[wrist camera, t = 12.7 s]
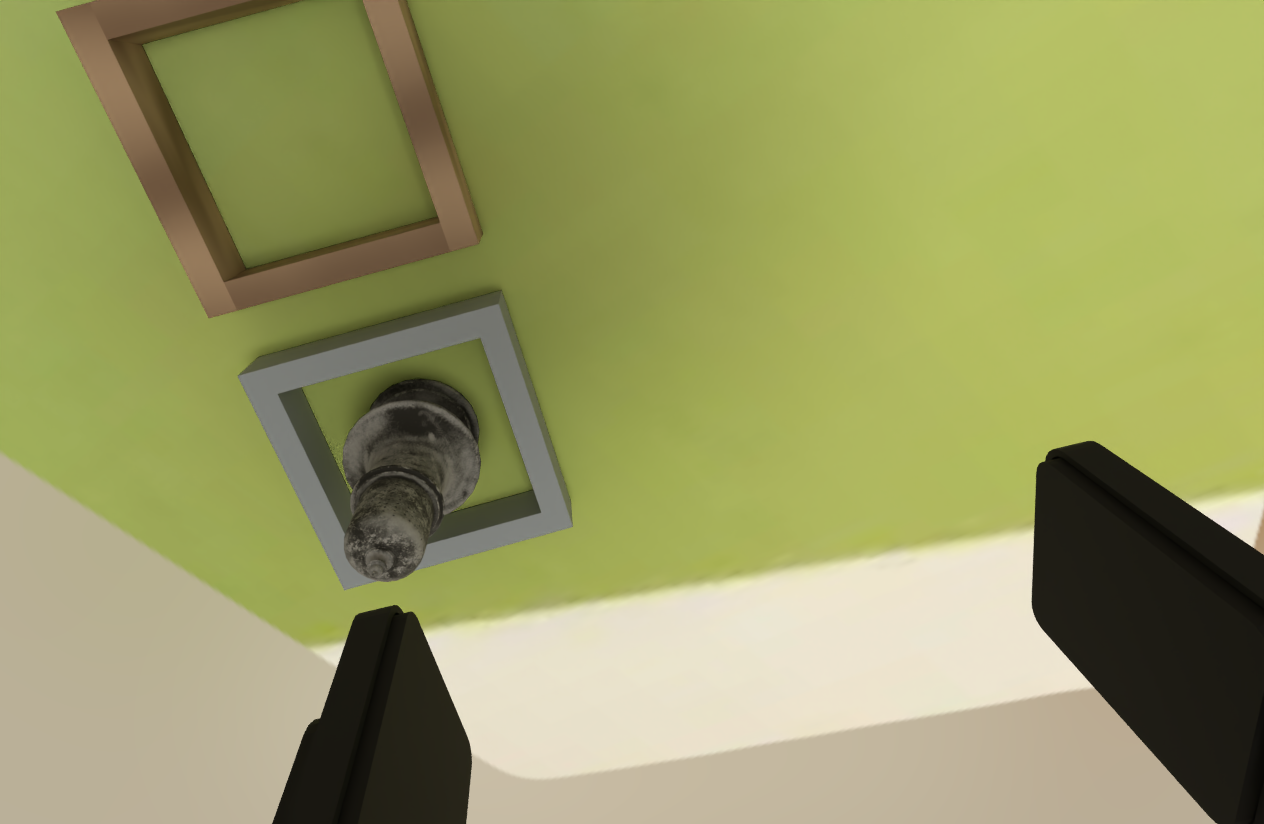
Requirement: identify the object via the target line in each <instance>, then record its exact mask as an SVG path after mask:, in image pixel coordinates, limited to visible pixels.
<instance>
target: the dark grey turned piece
mask: <svg viewBox="0 0 1264 824" xmlns="http://www.w3.org/2000/svg"><path fill="white" fill-rule="evenodd" d="M478 438H479V425H478V420H477V416H476V414H475V412H474V410H473V408H472V406H471V404H470V403H469V402H468V401H467V400H466V399H465V398H464V396H463V395H462V394H460V393H459V392H458V391H456V390H455V389H453V388H452V387H450V386H448V385H446V384H443V383H440V382H438V381H434V380H426V379H414V380H405V381H403V382H400V383H397V384H395V385H392V386H391V387H389V388H388V389H386V390H385V391H384V392H382V393H381V394H380V395H379V396H378V398H377V399H376V400H375V402H374V403H373V404H372V406H371V408H370V411H369V412H368V413H367V414H365V415H364V416H362V417H361V418H360V419H359V420H358V421H357V422H356V424H355V425H354V426H353V428H352V429H351V430H350V432H349V434H348V436H347V439H346V442H345V445H344V447H343V468H344V471H345V475H346V479H347V481H348V483H349V484H350V486H351V488H352V489H353V491H352V494H351V498H350V509H351V512H352V519H351V521H350V523H349V526H348V528H347V531H346V533H345V536H344V552H345V555H346V559H347V560H348V562H349V563H350V565H351V566H352V567H353V568H354V569H355V570H356V571H357V572H358V573H359V574H361V575H363V576H365V577H366V578H369V579H372V580H375V581H383V582H389V581H396V580H399V579H402V578H405V577H407V576H408V575H409V574H411V573H412V572H413V571H414V570H415V569H416V568H417V567H418V565H419V564H420V562H421V561H422V558H423V556H424V553H425V549H426V545H427V541H428V538H429V537H430V536H432V535H433V534H434V533H435V532H436V530H437V529H438V528H439V527H440V524H441V522H442V520H443V517H444V515H446V514H449V513H451V512H452V511H453V510H455V509H456V508H458V507H459V506H461V505H462V504H463V503H464V502H465V501H466V500H467V498H468V497H469V496H470V495H471V494H472V492H473V490H474V488H475V486H476V483H477V481H478V479H479V473H480V465H481V459H480V454H479V448H478Z"/></svg>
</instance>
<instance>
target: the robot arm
mask: <svg viewBox="0 0 1264 824" xmlns="http://www.w3.org/2000/svg"><path fill="white" fill-rule="evenodd" d="M1032 609H1033V613H1034V615H1035V618H1036V620H1037V622H1038V624H1039V625H1040V627H1041V628H1042V629H1043V631H1044V632H1045V633H1046V634H1047V635H1048V636H1049V637H1050V638H1051V639H1052V641H1053V642H1054V643H1055V644H1056V645H1057V646H1058V647H1059V648H1060V650H1061V651H1062V652H1063V653H1064V654H1065V655H1066V656H1067V657H1068V659H1069V660H1070V661H1071V662H1072V663H1073V664H1074V665H1075V666H1076V668H1077V669H1078V670H1079V671H1080V672H1081V673H1082V674H1083V675H1084V677H1085V678H1086V679H1087V680H1088V681H1089V682H1090V683H1091V684H1092V685H1093V687H1094V688H1095V689H1096V690H1097V691H1098V692H1099V693H1100V694H1101V695H1102V697H1103V698H1104V699H1105V700H1106V701H1107V702H1108V703H1109V705H1110V706H1111V707H1112V708H1113V709H1114V710H1115V711H1116V712H1117V714H1118V715H1119V716H1120V717H1121V718H1122V719H1123V720H1124V721H1125V722H1126V723H1127V725H1128V726H1129V727H1130V728H1131V729H1132V730H1133V731H1134V733H1135V734H1136V735H1137V736H1138V737H1139V738H1140V739H1141V740H1142V742H1143V743H1144V744H1145V745H1146V746H1147V747H1148V748H1149V749H1150V751H1152V753H1153V754H1154V755H1155V756H1156V757H1157V758H1158V759H1159V760H1160V762H1161V763H1162V764H1163V765H1164V766H1165V767H1166V768H1167V770H1168V771H1169V772H1170V773H1171V774H1172V775H1173V776H1174V777H1175V779H1176V780H1177V781H1178V782H1179V783H1180V784H1181V785H1182V786H1183V788H1184V789H1185V790H1186V791H1187V792H1188V793H1189V794H1190V795H1191V796H1192V798H1193V799H1194V800H1195V801H1196V802H1197V803H1198V804H1199V806H1200V807H1201V808H1202V809H1203V810H1204V811H1205V812H1206V813H1207V814H1208V816H1209V817H1210V818H1211V819H1213V820H1214V821H1215V822H1216V823H1217V824H1264V555H1263V554H1261V553H1260V552H1258V551H1257V550H1256V549H1254V548H1253V547H1251V546H1250V545H1248V544H1247V543H1245V542H1244V541H1242V540H1241V539H1239V538H1238V537H1236V536H1235V535H1233V534H1232V533H1230V532H1229V531H1227V530H1226V529H1225V528H1223V527H1222V526H1220V525H1219V524H1217V523H1216V522H1214V521H1213V520H1211V519H1210V518H1208V517H1207V516H1205V515H1204V514H1202V513H1201V512H1199V511H1198V510H1196V509H1195V508H1193V507H1192V506H1191V505H1189V504H1188V503H1186V502H1185V501H1183V500H1182V499H1180V498H1179V497H1177V496H1176V495H1174V494H1173V493H1171V492H1170V491H1168V490H1167V489H1165V488H1164V487H1162V486H1161V485H1159V484H1158V483H1157V482H1155V481H1154V480H1152V479H1151V478H1149V477H1148V476H1146V475H1145V474H1143V473H1142V472H1140V471H1139V470H1137V469H1136V468H1134V467H1133V466H1131V465H1130V464H1128V463H1127V462H1125V461H1124V460H1123V459H1121V458H1120V457H1118V456H1117V455H1115V454H1114V453H1112V452H1111V451H1109V450H1108V449H1106V448H1105V447H1103V446H1102V445H1100V444H1098V443H1096V442H1094V441H1086V442H1082V443H1078V444H1073V445H1069V446H1065V447H1061V448H1057V449H1053V450H1051V451H1049V452H1048V454H1047V456H1046V460H1045V462H1042V463H1040V464H1039V465H1038V467H1037V472H1036V499H1035V526H1034V553H1033V580H1032ZM471 767H472V756H471V748H470V743H469V740H468V737H467V735H466V732H465V730H464V728H463V725H462V723H461V720H460V718H459V716H458V713H457V711H456V709H455V706H454V704H453V701H452V699H451V697H450V694H449V692H448V690H447V687H446V685H445V683H444V680H443V678H442V675H441V673H440V671H439V668H438V666H437V664H436V661H435V659H434V656H433V654H432V652H431V649H430V647H429V645H428V642H427V640H426V637H425V635H424V633H423V630H422V628H421V626H420V623H419V621H418V619H417V617H416V615H415V614H414V613H413V612H407V613H403V611H402V610H401V608H400V607H399V606H397V605H393V606H389V607H384V608H380V609H376V610H372V611H368V612H363V613H359V614H357V615H356V616H355V618H354V620H353V622H352V625H351V628H350V631H349V634H348V637H347V640H346V643H345V646H344V649H343V652H342V655H341V658H340V661H339V664H338V667H337V670H336V673H335V676H334V679H333V682H332V685H331V688H330V691H329V694H328V697H327V700H326V703H325V706H324V709H323V712H322V715H321V718H320V719H315V720H314V721H313V722H311V723H310V724H309V725H308V727H307V729H306V731H305V733H304V735H303V738H302V741H301V744H300V747H299V749H298V752H297V755H296V758H295V761H294V764H293V766H292V769H291V772H290V775H289V778H288V781H287V783H286V786H285V789H284V792H283V795H282V798H281V801H280V803H279V806H278V809H277V812H276V815H275V817H274V820H273V823H272V824H466V819H467V809H468V799H469V787H470V778H471Z"/></svg>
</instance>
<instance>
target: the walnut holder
mask: <svg viewBox="0 0 1264 824" xmlns="http://www.w3.org/2000/svg"><path fill="white" fill-rule="evenodd" d="M299 1H302V0H96V1H93V2H89V3H85V4H82V5H78V6H74V7H71V8H67V9H63V10H60V11H56V13H57V15H58V17H59V19H60V21H61V23H62V25H63V27H64V29H65V31H66V33H67V35H68V37H69V39H70V41H71V43H72V45H73V47H74V49H75V51H76V53H77V55H78V57H79V59H80V61H81V63H82V65H83V67H84V69H85V71H86V73H87V75H88V77H89V79H90V81H91V83H92V85H93V87H94V89H95V91H96V93H97V95H98V97H99V99H100V101H101V103H102V105H103V107H104V109H105V111H106V113H107V115H108V117H109V119H110V121H111V123H112V125H113V127H114V129H115V131H116V133H117V135H118V137H119V139H120V141H121V143H122V145H123V147H124V149H125V151H126V153H127V155H128V157H129V159H130V161H131V163H132V165H133V167H134V169H135V171H136V173H137V175H138V177H139V180H140V182H141V184H142V186H143V188H144V190H145V192H146V194H147V196H148V198H149V200H150V202H151V204H152V206H153V208H154V210H155V212H156V214H157V216H158V218H159V220H160V222H161V224H162V226H163V228H164V230H165V232H166V234H167V236H168V238H169V240H170V242H171V244H172V246H173V248H174V250H175V252H176V254H177V256H178V258H179V260H180V262H181V264H182V266H183V268H184V270H185V272H186V274H187V276H188V278H189V280H190V282H191V284H192V286H193V288H194V290H195V292H196V294H197V296H198V298H199V300H200V302H201V304H202V306H203V308H204V310H205V312H206V314H207V316H208V318H212V317H215V316H219V315H223V314H226V313H230V312H233V311H237V310H241V309H244V308H248V307H252V306H255V305H259V304H262V303H266V302H270V301H273V300H277V299H281V298H284V297H288V296H292V295H295V294H299V293H302V292H306V291H310V290H313V289H317V288H321V287H324V286H328V285H331V284H335V283H339V282H342V281H346V280H350V279H353V278H357V277H361V276H364V275H368V274H371V273H375V272H379V271H382V270H386V269H390V268H393V267H397V266H400V265H404V264H408V263H411V262H415V261H419V260H422V259H426V258H429V257H433V256H437V255H440V254H444V253H448V252H451V251H455V250H459V249H462V248H466V247H469V246H473V245H477V244H479V242H480V240H481V237H482V235H483V232H482V229H481V226H480V223H479V220H478V217H477V214H476V211H475V208H474V205H473V202H472V199H471V196H470V193H469V190H468V186H467V183H466V180H465V177H464V174H463V171H462V168H461V165H460V162H459V159H458V156H457V153H456V150H455V147H454V144H453V141H452V138H451V135H450V132H449V129H448V126H447V123H446V119H445V116H444V113H443V110H442V107H441V104H440V101H439V98H438V95H437V92H436V89H435V86H434V83H433V80H432V77H431V74H430V71H429V68H428V65H427V62H426V59H425V56H424V53H423V49H422V46H421V43H420V40H419V37H418V34H417V31H416V28H415V25H414V22H413V19H412V16H411V13H410V10H409V7H408V4H407V1H406V0H363V3H364V6H365V9H366V12H367V15H368V18H369V21H370V23H371V26H372V29H373V32H374V35H375V38H376V41H377V43H378V46H379V49H380V52H381V55H382V58H383V61H384V63H385V66H386V69H387V72H388V75H389V78H390V81H391V83H392V86H393V89H394V92H395V95H396V98H397V101H398V103H399V106H400V109H401V112H402V115H403V118H404V121H405V124H406V126H407V129H408V132H409V135H410V138H411V141H412V144H413V146H414V149H415V152H416V155H417V158H418V161H419V164H420V166H421V169H422V172H423V175H424V178H425V181H426V184H427V186H428V189H429V192H430V195H431V198H432V201H433V204H434V207H435V209H436V212H437V215H438V217H435V218H431V219H428V220H424V221H420V222H417V223H413V224H409V225H406V226H402V227H398V228H395V229H391V230H388V231H384V232H380V233H377V234H373V235H369V236H366V237H362V238H358V239H355V240H351V241H348V242H344V243H340V244H337V245H333V246H329V247H326V248H322V249H319V250H315V251H311V252H308V253H304V254H300V255H297V256H293V257H289V258H286V259H282V260H279V261H275V262H271V263H268V264H264V265H260V266H257V267H253V268H249V269H246V268H245V266H244V264H243V262H242V259H241V257H240V255H239V253H238V251H237V249H236V247H235V244H234V242H233V240H232V238H231V236H230V234H229V231H228V229H227V227H226V225H225V223H224V221H223V219H222V216H221V214H220V212H219V210H218V208H217V206H216V204H215V201H214V199H213V197H212V195H211V193H210V191H209V188H208V186H207V184H206V182H205V180H204V178H203V176H202V173H201V171H200V169H199V167H198V165H197V163H196V161H195V158H194V156H193V154H192V152H191V150H190V148H189V145H188V143H187V141H186V139H185V137H184V135H183V133H182V130H181V128H180V126H179V124H178V122H177V120H176V117H175V115H174V113H173V111H172V109H171V107H170V105H169V102H168V100H167V98H166V96H165V94H164V92H163V90H162V87H161V85H160V83H159V81H158V79H157V77H156V74H155V72H154V70H153V68H152V66H151V64H150V62H149V59H148V57H147V55H146V53H145V51H144V49H143V47H142V44H145V43H149V42H152V41H156V40H160V39H163V38H167V37H171V36H174V35H178V34H182V33H185V32H189V31H193V30H196V29H200V28H204V27H207V26H211V25H215V24H218V23H222V22H226V21H229V20H233V19H236V18H240V17H244V16H247V15H251V14H255V13H258V12H262V11H266V10H269V9H273V8H277V7H280V6H284V5H288V4H291V3H295V2H299Z"/></svg>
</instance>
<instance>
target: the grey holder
mask: <svg viewBox="0 0 1264 824" xmlns="http://www.w3.org/2000/svg"><path fill="white" fill-rule="evenodd" d="M478 338H481V341H482V344H483V347H484V350H485V352H486V355H487V358H488V361H489V364H490V367H491V370H492V372H493V375H494V378H495V381H496V384H497V387H498V390H499V392H500V395H501V398H502V401H503V404H504V407H505V410H506V413H507V415H508V418H509V421H510V424H511V427H512V430H513V433H514V435H515V438H516V441H517V444H518V447H519V450H520V453H521V455H522V458H523V461H524V464H525V467H526V470H527V473H528V475H529V478H530V481H531V484H532V487H533V490H532V491H528V492H525V493H521V494H517V495H514V496H510V497H507V498H503V499H499V500H496V501H492V502H489V503H485V504H481V505H478V506H474V507H470V508H467V509H463V510H460V511H456V512H452V513H449V514H446V515H444V517H443V520H442V522H441V524H440V527H439V528H438V529H437V530H436V532H435V533H434V534H433V535H432V536H430V537H429V538H428V541H427V545H426V549H425V553H424V556H423V558H422V561H421V562H420V564H419V565H418V567H417V568H416V569H415V570H419V569H422V568H426V567H430V566H433V565H437V564H440V563H444V562H448V561H451V560H455V559H458V558H462V557H466V556H469V555H473V554H477V553H480V552H484V551H487V550H491V549H495V548H498V547H502V546H505V545H509V544H513V543H516V542H520V541H523V540H527V539H531V538H534V537H538V536H541V535H545V534H549V533H552V532H556V531H559V530H563V529H567V528H570V527H573V523H572V509H571V500H570V497H569V494H568V491H567V488H566V485H565V482H564V479H563V476H562V473H561V470H560V467H559V463H558V460H557V457H556V454H555V451H554V448H553V445H552V442H551V439H550V436H549V433H548V430H547V427H546V424H545V421H544V418H543V415H542V412H541V409H540V406H539V403H538V400H537V397H536V393H535V390H534V387H533V384H532V381H531V378H530V375H529V372H528V369H527V366H526V363H525V360H524V357H523V354H522V351H521V348H520V345H519V342H518V339H517V336H516V333H515V330H514V327H513V323H512V320H511V317H510V314H509V311H508V308H507V305H506V302H505V299H504V296H503V293H502V290H500V291H497V292H493V293H489V294H486V295H482V296H478V297H475V298H471V299H468V300H464V301H460V302H457V303H453V304H449V305H446V306H442V307H439V308H435V309H431V310H428V311H424V312H420V313H417V314H413V315H410V316H406V317H402V318H399V319H395V320H391V321H388V322H384V323H381V324H377V325H373V326H370V327H366V328H362V329H359V330H355V331H352V332H348V333H344V334H341V335H337V336H333V337H330V338H326V339H323V340H319V341H315V342H312V343H308V344H304V345H301V346H297V347H294V348H290V349H286V350H283V351H279V352H275V353H272V354H268V355H264V356H261V357H258V358H257V359H256V360H255V361H253V362H252V363H251V364H250V365H249V366H248V367H247V368H246V369H245V370H244V371H242V372H241V373H240V374H239V375H238V378H239V380H240V382H241V384H242V386H243V388H244V390H245V392H246V394H247V396H248V398H249V400H250V402H251V404H252V406H253V408H254V410H255V412H256V414H257V416H258V418H259V420H260V422H261V424H262V426H263V428H264V430H265V432H266V434H267V436H268V438H269V440H270V442H271V444H272V446H273V448H274V450H275V452H276V454H277V456H278V458H279V460H280V462H281V464H282V466H283V468H284V470H285V472H286V474H287V476H288V478H289V480H290V482H291V484H292V486H293V488H294V490H295V492H296V494H297V496H298V498H299V500H300V502H301V504H302V506H303V508H304V510H305V512H306V514H307V516H308V518H309V520H310V522H311V524H312V526H313V528H314V530H315V532H316V534H317V536H318V538H319V540H320V542H321V544H322V546H323V548H324V550H325V552H326V554H327V556H328V558H329V560H330V562H331V564H332V566H333V568H334V570H335V572H336V574H337V576H338V578H339V580H340V582H341V584H342V586H343V588H344V590H347V589H350V588H354V587H358V586H361V585H365V584H368V583H372V582H376V581H375V580H372V579H369V578H366V577H365V576H363V575H361V574H359V573H358V572H357V571H356V570H355V569H354V568H353V567H352V566H351V565H350V563H349V562H348V560H347V559H346V555H345V552H344V536H345V533H346V531H347V528H348V526H349V523H350V521H351V519H352V512H351V509H350V498H351V494H350V492H349V490H348V487H347V485H346V483H345V481H344V479H343V477H342V475H341V472H340V470H339V468H338V466H337V464H336V462H335V459H334V457H333V455H332V453H331V451H330V449H329V447H328V444H327V442H326V440H325V438H324V436H323V434H322V431H321V429H320V427H319V425H318V423H317V421H316V419H315V416H314V414H313V412H312V410H311V408H310V406H309V404H308V401H307V399H306V397H305V395H304V393H303V391H302V388H301V387H304V386H308V385H311V384H315V383H319V382H322V381H326V380H329V379H333V378H337V377H340V376H344V375H348V374H351V373H355V372H358V371H362V370H366V369H369V368H373V367H377V366H380V365H384V364H387V363H391V362H395V361H398V360H402V359H405V358H409V357H413V356H416V355H420V354H424V353H427V352H431V351H434V350H438V349H442V348H445V347H449V346H453V345H456V344H460V343H463V342H467V341H471V340H474V339H478ZM415 570H414V571H415Z"/></svg>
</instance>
